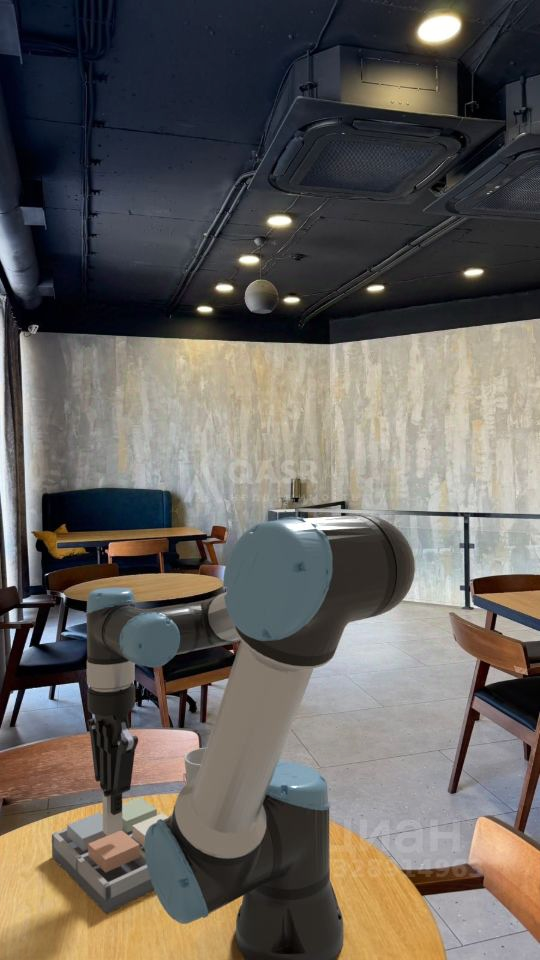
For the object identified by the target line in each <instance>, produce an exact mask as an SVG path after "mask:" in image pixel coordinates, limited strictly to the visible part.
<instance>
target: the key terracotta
mask: <svg viewBox="0 0 540 960" xmlns="http://www.w3.org/2000/svg"><path fill="white" fill-rule="evenodd" d="M88 856H89V857H90V858H91V859H92V860H93V861H94V862H95V863H96V864H97V865H98V866H99V867H100V868H101V869H102V870H103V871H104V872H105V873H106V872H108V871H110V870H113V869H115V868H117V867H119V866H121V865H124V864H126V863H128V862H130V861H132V860H135V859H137V858H139V857H140V844H138V843H137V842H136V841H135V840H133V839H132V838H131V837H130V836H128V835H127V834H126V833H125V832H124V831H122V830H120V831H118V832H116V833H113V834H111V835H108V836H106V837H103V838H101V839H98V840H96V841H94V842H91V843H89V844H88Z"/></svg>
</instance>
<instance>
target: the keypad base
mask: <svg viewBox="0 0 540 960" xmlns="http://www.w3.org/2000/svg"><path fill="white" fill-rule="evenodd" d="M101 814H102V815H103V813H101ZM159 814H160V813H157V815H159ZM122 831H124V830H123V829H122ZM117 832H118V831H117ZM124 832H125V831H124ZM125 833H126V832H125ZM126 834H127V835H128V836H130V837H131V838H132V831H130V832H127V833H126ZM132 839H133V840H135V839H134V838H132ZM135 841H136V840H135ZM136 842H137V841H136ZM137 843H138V844H140V843H139V842H137ZM51 857H52V859H53V860H54V861H55V862H56V863H57V864H58V865H59V866H60V867H61V868H62V869H63V870H64V872H66V874H67V875H68V876H70V878H71V879H72V880H73V881H74V882H75V883H76V884H77V885H78V887H80V889H81V890H83V891H84V893H86V895H88V897H89V898H90V899H91V900H92V901H93V902H94V903H95V904H96V906H98V907H99V908H100V910H102V911H103V913H104V914H105V915H106V914H107V915H108V914H109V913H111V912H114V911H115V910H117V909H120V908H121V907H123V906H125V905H127V904H129V903H131V902H133V901H136V900H138V899H139V898H141V897H143V896H145V895H147V894H149V893H151V892H153V891H155V890H154V887H153V885H152V882H151V879H150V876H149V872H148V868H147V864H146V858H145V849H144V846H142V845H141V844H140V857H139V858H137V859H135V860H132V861H130V862H128V863H126V864H124V865H121V866H119V867H117V868H115V869H113V870H110V871H108V872H106V873H105V872H104V871H103V870H102V869H101V868H100V867H99V866H98V865H97V864H96V863H95V862H94V861H93V860H92V859H91V858H90V857H89V856H88V849H87V850H84V851H82V850H81V849H80V848H79V847H78V846H77V845H76V844H75V843H74V842H73V841H72V840H71V839H70V838H69V837H68V836H67V827H66V828H63V829H61V830H59V831H56V832H54V833H51Z"/></svg>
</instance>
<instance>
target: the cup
mask: <svg viewBox="0 0 540 960" xmlns="http://www.w3.org/2000/svg"><path fill="white" fill-rule="evenodd" d="M205 750H206V747H200V748H195V749H193V750H190V751H188V752H186V753H185V755H184V757H183V758H184V767H185V777H186V784H187V783H189V782H190V781H191V780H193V779H195V778H197V775H198V772H199V769H200V766H201V763H202V759H203V756H204V753H205Z"/></svg>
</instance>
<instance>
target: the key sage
mask: <svg viewBox="0 0 540 960" xmlns="http://www.w3.org/2000/svg"><path fill="white" fill-rule="evenodd" d="M157 811H158V809H157V808H156V807H155V806H153V805H152V804H150V803H149V802H147V801H146V800H144V798H142V797H140V796H139V797H137V798H134V799H131V800H129V801H126V802H124V803H123V802H122V829H123V830H124V831H125V832H126V833H127V832H130V831H132V826H133V825H135V824H137V823H140V822H142V821H145V820H147V819H150V818H152V817H154V816H157V814H158V813H157Z"/></svg>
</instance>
